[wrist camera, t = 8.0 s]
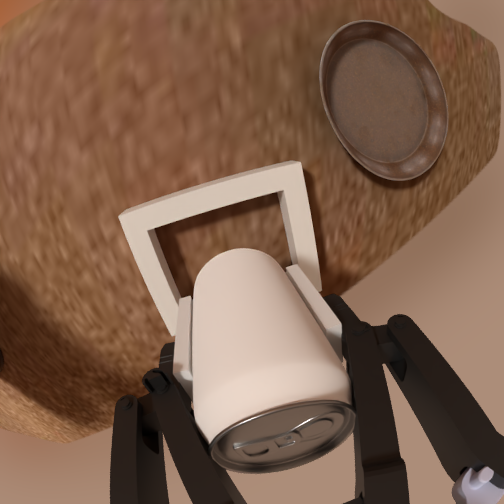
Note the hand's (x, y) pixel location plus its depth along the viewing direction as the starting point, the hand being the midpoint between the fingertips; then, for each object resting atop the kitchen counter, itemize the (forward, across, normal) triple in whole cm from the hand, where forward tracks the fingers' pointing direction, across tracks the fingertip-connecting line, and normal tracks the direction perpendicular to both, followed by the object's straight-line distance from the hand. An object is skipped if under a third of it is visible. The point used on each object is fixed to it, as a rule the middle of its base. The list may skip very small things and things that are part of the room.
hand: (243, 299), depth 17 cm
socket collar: (+10, 0, 0) cm, 10 cm away
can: (+2, 0, 0) cm, 2 cm away
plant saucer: (+10, +20, +12) cm, 25 cm away
